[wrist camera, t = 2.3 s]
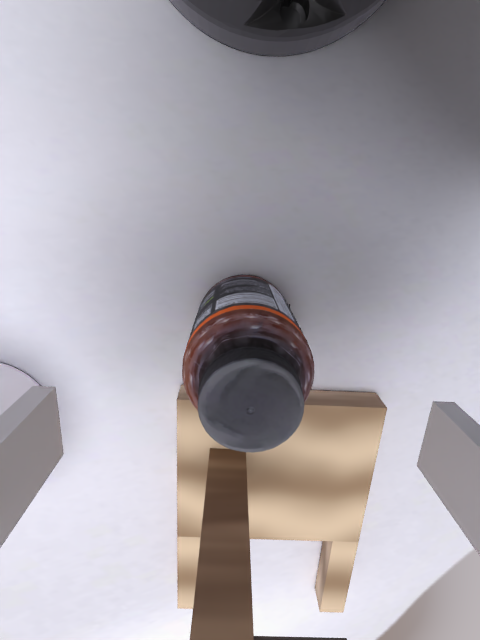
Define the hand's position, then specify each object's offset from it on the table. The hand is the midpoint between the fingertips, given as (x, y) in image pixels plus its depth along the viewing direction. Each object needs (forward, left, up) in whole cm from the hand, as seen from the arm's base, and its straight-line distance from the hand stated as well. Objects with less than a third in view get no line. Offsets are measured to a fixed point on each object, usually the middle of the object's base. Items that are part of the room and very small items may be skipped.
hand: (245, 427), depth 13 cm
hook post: (+7, +7, -10) cm, 14 cm away
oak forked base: (+10, +12, -12) cm, 19 cm away
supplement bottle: (0, 0, -12) cm, 12 cm away
